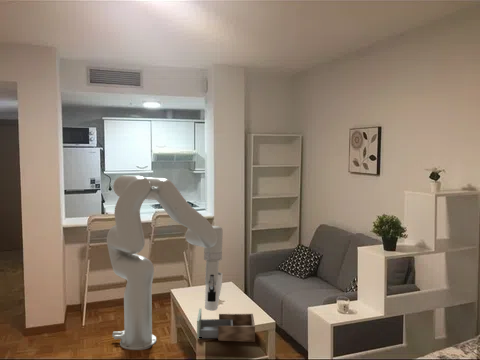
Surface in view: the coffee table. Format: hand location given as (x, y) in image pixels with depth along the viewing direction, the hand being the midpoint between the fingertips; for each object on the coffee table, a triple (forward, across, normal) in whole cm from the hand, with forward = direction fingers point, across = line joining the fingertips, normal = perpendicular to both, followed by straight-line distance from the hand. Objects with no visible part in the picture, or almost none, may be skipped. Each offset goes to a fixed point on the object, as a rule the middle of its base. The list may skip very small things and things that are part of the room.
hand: (211, 298), depth 167 cm
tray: (+9, +14, +2) cm, 17 cm away
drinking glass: (+5, 0, 0) cm, 5 cm away
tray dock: (+10, +14, +10) cm, 20 cm away
